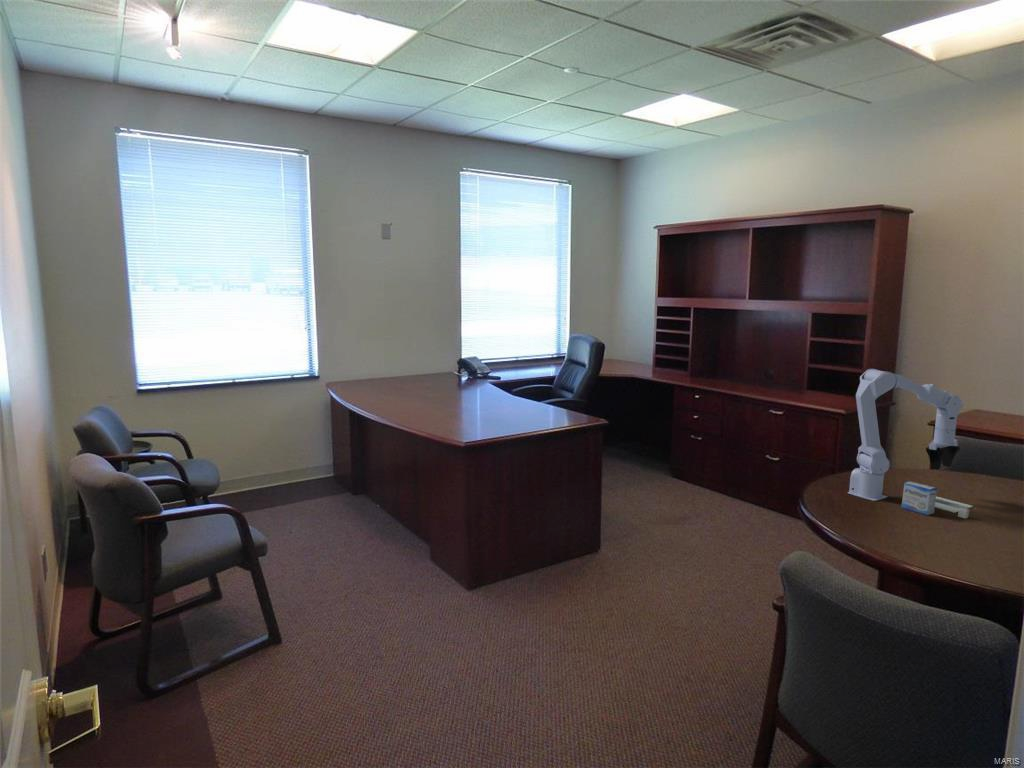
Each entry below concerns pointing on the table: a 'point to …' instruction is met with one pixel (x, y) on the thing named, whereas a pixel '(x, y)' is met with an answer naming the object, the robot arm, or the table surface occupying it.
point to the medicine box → (919, 498)
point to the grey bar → (952, 504)
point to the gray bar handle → (963, 513)
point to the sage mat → (949, 508)
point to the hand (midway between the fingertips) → (940, 467)
